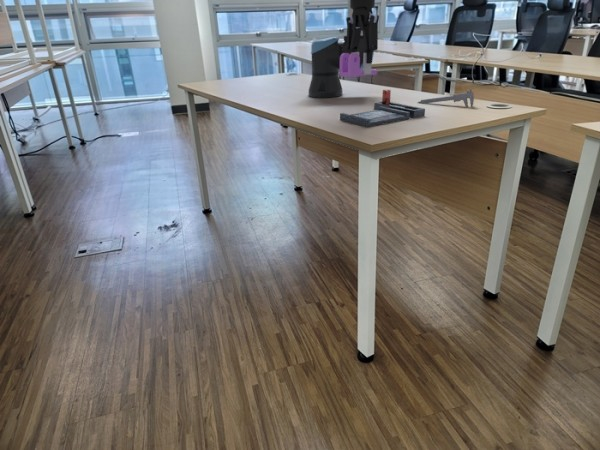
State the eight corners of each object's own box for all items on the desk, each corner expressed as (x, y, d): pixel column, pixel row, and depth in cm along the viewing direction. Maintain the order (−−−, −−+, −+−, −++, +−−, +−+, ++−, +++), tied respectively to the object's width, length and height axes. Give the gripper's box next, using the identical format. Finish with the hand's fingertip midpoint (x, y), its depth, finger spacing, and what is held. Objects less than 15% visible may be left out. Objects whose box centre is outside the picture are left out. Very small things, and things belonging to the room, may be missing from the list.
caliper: (472, 107, 153) (475, 89, 150) (472, 107, 152) (474, 89, 150) (418, 103, 164) (419, 86, 161) (417, 103, 163) (418, 86, 160)
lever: (380, 107, 154) (380, 90, 151) (386, 106, 155) (386, 89, 152) (399, 111, 146) (400, 93, 143) (405, 110, 147) (406, 92, 145)
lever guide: (374, 109, 155) (374, 102, 154) (384, 107, 157) (384, 100, 156) (413, 118, 140) (414, 110, 139) (424, 115, 142) (425, 108, 141)
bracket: (350, 77, 134) (351, 53, 131) (339, 76, 138) (339, 53, 135) (380, 74, 140) (381, 51, 137) (369, 73, 144) (369, 51, 141)
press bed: (339, 120, 142) (339, 113, 141) (380, 112, 150) (381, 106, 149) (366, 127, 131) (366, 120, 130) (409, 118, 139) (409, 112, 138)
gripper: (335, -4, 135) (335, 73, 145) (372, -10, 120) (369, 76, 130) (353, -4, 138) (352, 71, 148) (392, -9, 123) (388, 74, 133)
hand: (360, 73), depth 139 cm, fingers closed on bracket, 6 cm apart
